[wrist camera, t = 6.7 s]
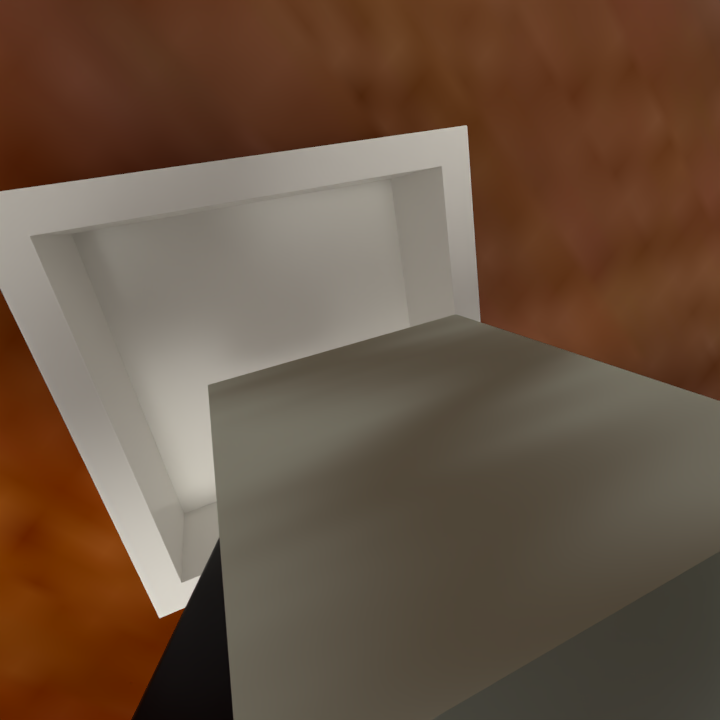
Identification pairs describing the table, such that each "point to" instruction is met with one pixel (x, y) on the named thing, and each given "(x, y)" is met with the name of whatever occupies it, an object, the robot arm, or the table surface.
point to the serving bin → (221, 304)
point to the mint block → (467, 534)
